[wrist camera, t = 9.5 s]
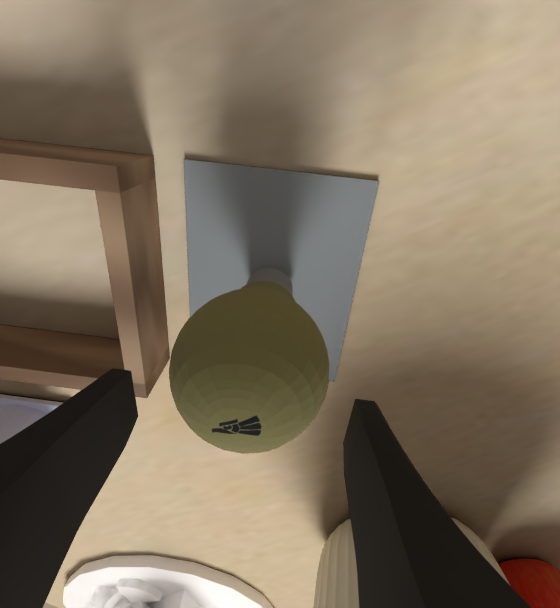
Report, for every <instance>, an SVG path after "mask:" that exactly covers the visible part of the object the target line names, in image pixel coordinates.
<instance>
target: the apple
mask: <svg viewBox="0 0 560 608" xmlns="http://www.w3.org/2000/svg"><path fill="white" fill-rule="evenodd" d="M498 565H499V566H500V568H501V570H502V572H503V573H504V575H505V577H506V579H507V581H508V582H509V584H510V586H511V587H512V588H513V589H514V590H515V591H516V592H517V593H518V594H519V595H520V596H521V597H522V598H523V599H524V600H525V601H526V602H527V603H528V604H529V605H530V606H531V607H532V608H560V571H558V570H557V569H556V568H554V567H553V566H552V565H550V564H549V563H547V562H544V561H540V560H537V559H527V558H524V559H513V560H508V561H504V562H502V563H499V564H498Z"/></svg>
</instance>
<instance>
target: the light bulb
mask: <svg viewBox="0 0 560 608" xmlns="http://www.w3.org/2000/svg"><path fill="white" fill-rule="evenodd" d="M169 379H170V387H171V392H172V395H173V398H174V401H175V404H176V407H177V410H178V411H179V413H180V414H181V416H182V417H183V419H184V420H185V422H186V423H187V424H188V426H189V427H190V428H191V429H192V430H193V431H194V432H195V433H196V434H197V435H198V436H199V437H201V438H202V439H203V440H205V441H206V442H208V443H210V444H212V445H214V446H216V447H218V448H221V449H223V450H227V451H232V452H238V453H260V452H265V451H270V450H272V449H275V448H278V447H280V446H282V445H284V444H285V443H287V442H289V441H291V440H293V439H294V438H295V437H297V436H298V435H299V434H300V433H302V432H303V431H304V429H305V428H306V427H307V426H308V425H309V424H310V423H311V421H312V420H313V419H314V418H315V416H316V415H317V413H318V411H319V409H320V407H321V405H322V403H323V400H324V398H325V395H326V392H327V387H328V382H329V358H328V351H327V348H326V345H325V342H324V339H323V336H322V334H321V332H320V330H319V328H318V326H317V325H316V323H315V322H314V320H313V319H312V318H311V316H310V315H309V314H308V313H307V312H306V311H305V310H304V309H303V308H302V307H301V306H300V305H299V304H297V303H296V301H295V299H294V298H293V286H292V282H291V280H290V279H289V277H288V276H287V275H286V274H285V273H284V272H282V271H280V270H278V269H275V268H262V269H259V270H257V271H255V272H254V273H253V274H252V275H251V276H250V278H249V280H248V281H247V284H246V285H245V286H243V287H242V288H241V289H238V290H233V291H230V292H228V293H225V294H222V295H219V296H217V297H215V298H213V299H212V300H210V301H208V302H207V303H206V304H204V305H203V306H202V307H201V308H199V309H198V310H197V311H196V312H195V313H194V314H193V315H192V316H191V317H190V318H189V319H188V321H187V322H186V323H185V325H184V326H183V328H182V329H181V331H180V333H179V335H178V337H177V339H176V342H175V344H174V347H173V350H172V354H171V361H170V368H169Z"/></svg>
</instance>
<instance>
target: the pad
mask: <svg viewBox="0 0 560 608" xmlns="http://www.w3.org/2000/svg"><path fill="white" fill-rule="evenodd" d="M184 180H185V205H186V229H187V254H188V278H189V302H190V317H191V316H192V315H193V314H194V313H195V312H196V311H197V310H198V309H199V308H201V307H202V306H203V305H204V304H206V303H207V302H208V301H210V300H212V299H213V298H215V297H217V296H219V295H222V294H225V293H228V292H230V291H233V290H238V289H241V288H242V287H243V286H245V285H246V284H247V281H248V280H249V278H250V276H251V275H252V274H253V273H254V272H255V271H257V270H259V269H262V268H275V269H278V270H280V271H282V272H284V273H285V274H286V275H287V276H288V277H289V279H290V280H291V282H292V286H293V298H294V299H295V301H296V303H297V304H299V305H300V306H301V307H302V308H303V309H304V310H305V311H306V312H307V313H308V314H309V315H310V316H311V318H312V319H313V320H314V322H315V323H316V325H317V326H318V328H319V330H320V332H321V334H322V336H323V339H324V342H325V345H326V348H327V351H328V358H329V381H335V377H336V372H337V368H338V363H339V359H340V354H341V350H342V345H343V341H344V337H345V332H346V328H347V323H348V319H349V314H350V310H351V305H352V301H353V296H354V292H355V288H356V283H357V279H358V274H359V270H360V265H361V261H362V256H363V252H364V247H365V243H366V239H367V234H368V230H369V225H370V221H371V216H372V212H373V207H374V203H375V198H376V194H377V189H378V185H379V181H378V180H369V179H360V178H351V177H342V176H333V175H324V174H315V173H306V172H297V171H288V170H279V169H270V168H261V167H252V166H243V165H234V164H226V163H217V162H208V161H199V160H190V159H184Z"/></svg>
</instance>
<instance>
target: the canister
mask: <svg viewBox="0 0 560 608" xmlns="http://www.w3.org/2000/svg"><path fill="white" fill-rule="evenodd" d="M452 520H453V521H454V522H455V523H456V525H457V526H458V527H459V528H460V530H461V531H462V532H463V533H464V534H465V536H466V537H467V538H468V539H469V540H470V542H471V543H472V544H473V545H474V546H475V547H476V549H477V550H478V551H479V552H480V553H481V554H482V555H483V557H484V558H485V559H486V560H487V561H488V562H489V563H490V564H491V565H492V566H493V567H494V569H495V570H496V571H497V572H498V573H499V574H500V575H501V576H502V577H503V578H504V579H505V580H506V582H507V583H508V584H509V582H508V581H507V579H506V577H505V575H504V573H503V572H502V570H501V568H500V566H499V565H498V563H497V562H496V560H495V558H494V557H493V555H492V554H491V552H490V550H489V549H488V548H487V546H486V545H485V544H484V542H483V541H482V540H481V539H480V538H479V537H478V536H477V535H476V534H475V533H474V532H473V531H472V530H471V529H470V528H468V527H467V526H466V525H464V524H462V523H461V522H460V521H458V520H457V519H455V518H452ZM509 585H510V584H509ZM314 608H359V596H358V578H357V565H356V556H355V548H354V541H353V534H352V527H351V520H350V519H347V520H345V521H344V523H343V524H340V525H339V526H338V527H337V528H336V529H335V530H334V531H333V532H332V533H331V535H330V536H329V538H328V540H327V542H326V543H325V545H324V548H323V550H322V554H321V558H320V562H319V567H318V573H317V580H316V589H315V598H314Z"/></svg>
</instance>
